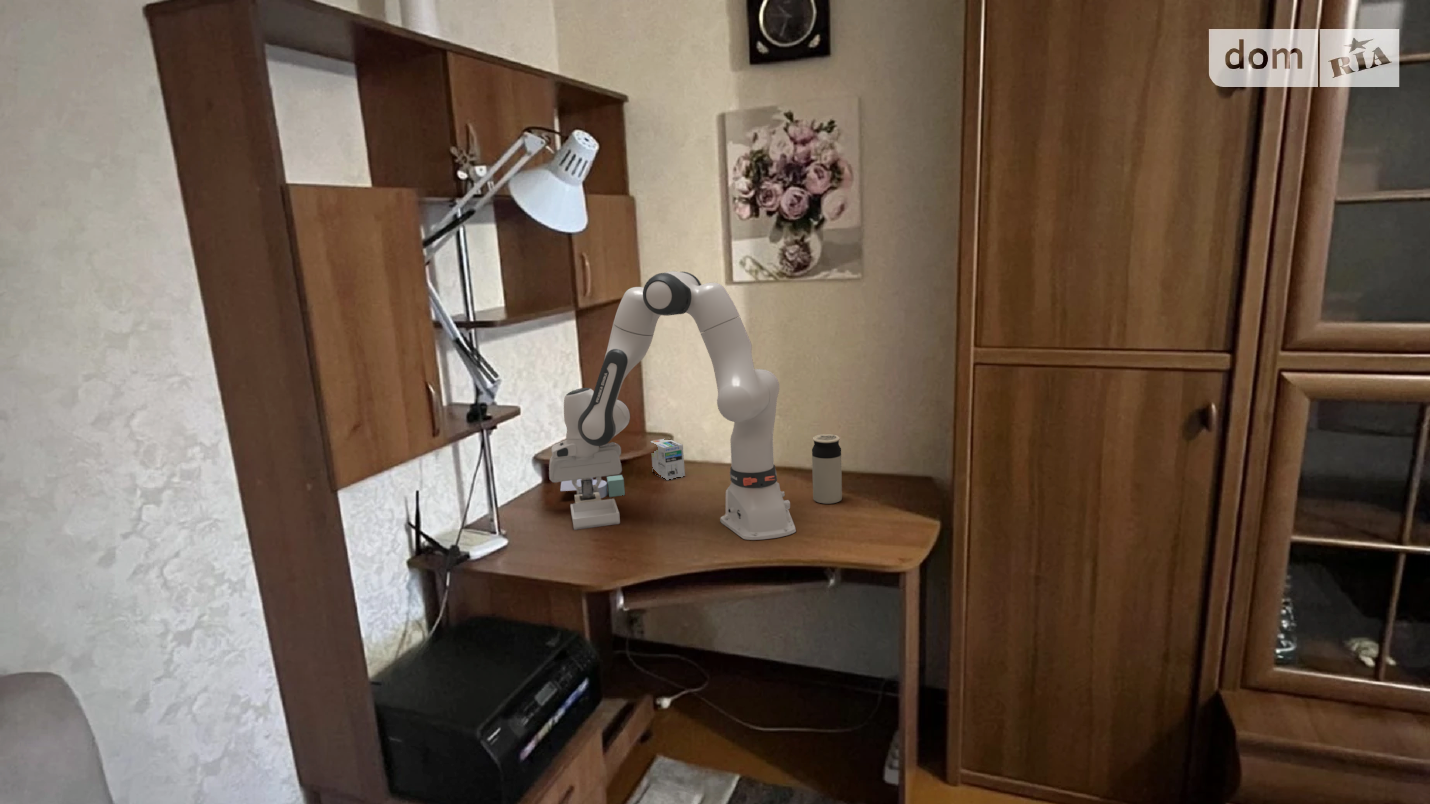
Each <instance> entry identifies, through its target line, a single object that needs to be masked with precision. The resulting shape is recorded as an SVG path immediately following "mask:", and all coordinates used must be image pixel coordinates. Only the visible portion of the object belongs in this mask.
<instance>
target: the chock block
mask: <svg viewBox="0 0 1430 804" xmlns="http://www.w3.org/2000/svg"><path fill="white" fill-rule="evenodd" d="M606 482H607V492H608V494H607V495H608V496H609V498H612V497H613V498H615V497H620V496H622V495H623V496H626V495H625V493H626V492H625V491H626V490H625V480H624V477H623V474H618V475H610V476H606Z"/></svg>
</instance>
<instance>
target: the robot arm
mask: <svg viewBox="0 0 1430 804" xmlns="http://www.w3.org/2000/svg"><path fill="white" fill-rule="evenodd" d="M684 314H688V315H689V316H691V318H693V320H694V322H695V323H696V327H697V329H698V332H699V333H700V336H701V338H702V340H703V344H704V346H705V348H706V351H707V352H708V353H707V354H708V355H709V358H710V361H711V364H712V366H713V372H714V378H715V383H716V388H717V399H716V405H717V409H718V411H719V413H720V414H721V416H722V417H723V418H724V419H726V420H727V421H730V422H733V429H732V432H731V435H730V440H729V441H730V461H731V466H730V469H729V476H730V477H729V478H730V479H729V480H730V485H729V486H728V487H727V489H726V490H725V514H724V515H722V516H720V517H719V519H720V520H719V521H720V523H721V524H722V525H723V526H725V527H727V528H728V529H729V530H731V531H732V532H733V533H735V535H737V536H739V537H740V538H741V539H743V540H748V541H749V540H751V541H756V540H761V541H762V540H769V539H776V538H777V539H778V538H783V537H785V536H790V535H792V534H794V533H796V532H797V530H796V525H795V523H794V520H793V518H792V515H791V512H790V509H791V502H790V500H789V499H784V498H783V497H785V496H786V495H785V491H784V490H783V491H781V488H780V483H779V482H778V477H777V470H776V465H775V463H774V430H775V429H774V428H775V422H776V413H777V403H778V402H777V401H778V397H779V393H780V382H779V380H778V377H777V376H776V375H775V374H774V373H773V372H772V371H770V370H767V369H764V368H763V369H762V368H755V365H754V362H753V354H752V350H753V345H752V342H751V340H750V337H749V336H748V332H747V330H746V327H745V325H744V323H743V319H742V318H741V316H740V313H739V311H738V309H737V307H736V305H735V303H734V301H733V300H732V298H731V295H729V293H728V292H727V290H726V289H725V287H724V286H723V285H722V284H720V283H718V282H706V283H703V284H702V283H701V281H700V280H699V278H698V277H696V276H695V275H694V274H692V273H690V272H688V271H678V270H677V271H676V270H671V271H670V270H669V271H666V272H660V273H657V274H654V275H653V276H651V277H649V279H648V280H647V281H646V283H645V284H644V286H634V287H630V288H629V289H627V290H626V291H625V292H624V294H623V296H622V297H621V300H620V303H619V304H618V307H617V310H616V313H615V317H614V319H613V322H612V326H611V327H612V328H611V331H610V335H609V338H608V339H609V340H608V344H607V349H606V352H605V355H604V360H603V363H602V365H601V369H600V371H599V373H598V377H597V379H596V380H597V381H596V382H595V383H596V384H595V387H594V390H593V389H592V388H590V387H581V388H577V389H574V390H571V391H569V392H568V393H567V394H566V395H565V396H564V399H563V417H564V420H563V421H564V424H565V426H566V434H565V439H564V440H562V441H560V442H558V443H556V444H553V445H552V446H551V451H550V452H551V456H550V458H549V466H548V467H549V468H548V470H549V471H548V477H549V480H550V481H551V482H552V483H561V482H562V481H570V480H572V484H573V486H574V487H575V488H576V490H575V491H576V495H578V494H582V488H581V487H578V485H577V484H576V483H577V480H578V479H586V478H593V479H594V478H595V480H597V482H596V484H595V485H593V492H599V490H598V486H599V484H600V482H601V480H602V477H609V476H617V475H621V473H622V471H623V468H622V463H621V458H620V456H621V455H622V447H621V446H620V444H619V443H616V442H615V441H614V442H613V441H612V439H614V438H615V436H617V435H618V434H620V432H622V431H623V430H624V429H626V427H627V426H628V425H629V423H630V421H631V412H630V409H629V407H628V406H627V405H626V403H625V402H623V401H622V400H620V399H618V398H619V394H620V391H621V388H622V385H623V383H624V380H625V378H626V377H627V376H628V375H629V373H630V372H631V371H632V370H633V369H634V367H635V366H637V365H638V364H639V363H640V362H641V361H642V360H643V359H644V358H645V357H646V355H647V353H648V351H649V349H650V346H651V344H652V341H653V338H654V334H655V331H656V327H657V324H658V321H659V319H660V318H661V316H664V317H665V316H678V315H684ZM610 441H611V442H610Z"/></svg>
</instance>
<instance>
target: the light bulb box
mask: <svg viewBox="0 0 1430 804" xmlns="http://www.w3.org/2000/svg"><path fill="white" fill-rule="evenodd" d="M664 439H665V438H660V439H655V440H650V442H651V443H654V444H656V445H657V447H658V450H656V451H654V453H651V454H650V455H651V468H652V467H653V468H652V470H653V469H654V470H655V471H656V472H657V473H658V474H659V475H661V477H660V478H662V477H663V478H665V479H666V480H665V479H664V480H665V481H670V480H669V479H671V480H674V479H673V478H676V477H681V478H684V477H683V476H685V477H686V473H685V472H686V470H685V460H684V458H685V457H684V444H683V443H680V442H678V441H676V440H672V439H671V440H664ZM651 443H650V444H651ZM663 478H662V479H663ZM676 479H677V478H676Z"/></svg>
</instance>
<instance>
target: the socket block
mask: <svg viewBox="0 0 1430 804" xmlns="http://www.w3.org/2000/svg"><path fill="white" fill-rule="evenodd" d="M599 500H602V498H600V494H599V492H595V493H594V499H591V500H583V498H582V494H579V495H577V494H574V504H576V503H583V502H591V501H599Z"/></svg>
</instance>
